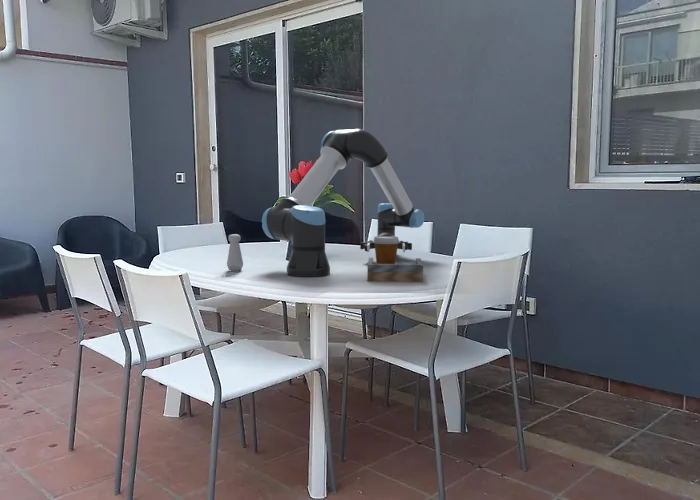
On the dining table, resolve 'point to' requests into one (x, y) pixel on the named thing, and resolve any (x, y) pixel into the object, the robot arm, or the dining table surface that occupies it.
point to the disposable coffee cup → (386, 249)
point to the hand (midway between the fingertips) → (386, 248)
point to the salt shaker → (234, 253)
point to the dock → (395, 272)
